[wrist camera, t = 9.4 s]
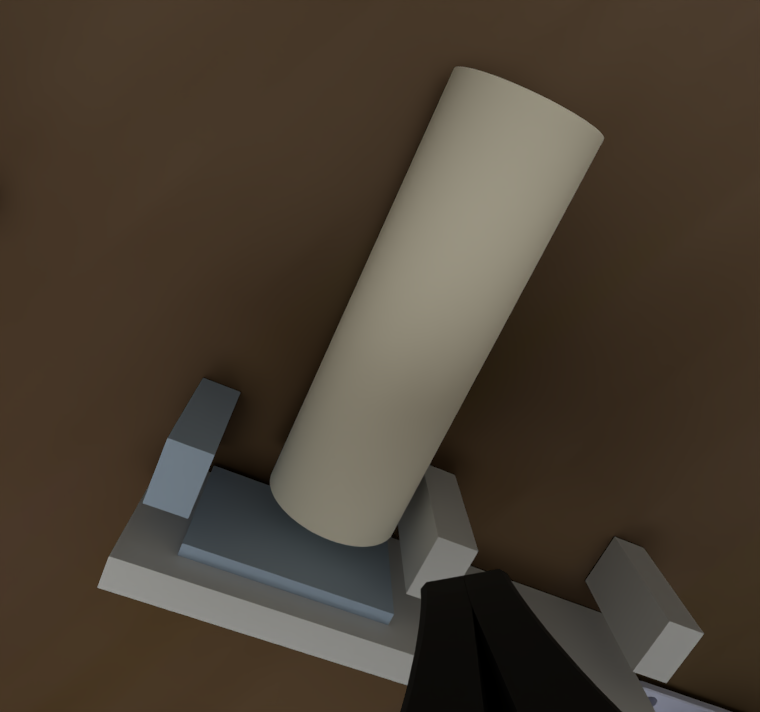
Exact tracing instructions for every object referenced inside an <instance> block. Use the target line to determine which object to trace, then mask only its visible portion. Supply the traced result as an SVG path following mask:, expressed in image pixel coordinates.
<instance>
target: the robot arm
mask: <svg viewBox="0 0 760 712" xmlns="http://www.w3.org/2000/svg"><path fill="white" fill-rule="evenodd" d="M420 590H421V608H420V620H419V628H418V634H417V641H416V647H415V652H414V657H413V662H412V666H411V671H410V676H409V680H408V685H407V689H406V693H405V697H404V701H403V704H402V708H401V711H400V712H622V711H621V710H620V709H619V708H618V707H617V706H616V705H615V704H614V703H613V702H612V701H611V700H610V699H609V698H608V697H607V696H606V695H605V694H604V693H603V692H602V691H601V690H600V689H599V688H598V687H597V686H596V685H595V684H594V683H593V681H592V680H591V679H590V678H589V677H588V676H587V675H586V674H585V673H584V672H583V671H582V670H581V669H580V667H579V666H578V665H577V664H576V663H575V662H574V661H573V659H572V658H571V657H570V656H569V655H568V654H567V653H566V651H565V650H564V649H563V648H562V647H561V646H560V645H559V643H558V642H557V641H556V640H555V639H554V638H553V636H552V635H551V634H550V633H549V631H548V630H547V629H546V628H545V627H544V625H543V624H542V623H541V621H540V620H539V619H538V618H537V616H536V615H535V614H534V612H533V611H532V610H531V609H530V607H529V606H528V604H527V603H526V602H525V600H524V599H523V598H522V596H521V595H520V593H519V592H518V590H517V589H516V587H515V586H514V584H513V583H512V581H511V579H510V578H509V576H508V574H507V573H505V572H504V571H502V570H501V569H497V570H491V571H485V572H480V573H474V574H469V575H463V576H458V577H452V578H446V579H441V580H435V581H430V582H426V583H425V584H424V585H423V587H422V588H421V589H420ZM640 683H641V685H642V687H643V689H644V691H645V693H646V695H647V697H648V698H649V700H650V702H651V704H652V706H653V708H654V710H655V712H731V711H728V710H725V709H723V708H720V707H717V706H714V705H711V704H708V703H705V702H702V701H699V700H696V699H693V698H690V697H687V696H684V695H682V694H679V693H676V692H673V691H670V690H667V689H664V688H661V687H658V686H655V685H652V684H649V683H646V682H644V681H640Z"/></svg>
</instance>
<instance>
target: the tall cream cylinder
mask: <svg viewBox="0 0 760 712" xmlns="http://www.w3.org/2000/svg"><path fill="white" fill-rule="evenodd" d="M603 140H604V136H603V135H602V133H601V132H600V131H599V130H598V129H596V128H595V127H594V126H593V125H591V124H590V123H588V122H587V121H586V120H584V119H582V118H581V117H579V116H578V115H576V114H574V113H573V112H571V111H569V110H568V109H566V108H564V107H562V106H560V105H559V104H557V103H555V102H553V101H551V100H549V99H547V98H545V97H543V96H541V95H539V94H537V93H535V92H533V91H531V90H528V89H526V88H524V87H522V86H519V85H517V84H515V83H512V82H510V81H507V80H505V79H502V78H500V77H497V76H495V75H492V74H489V73H486V72H483V71H479V70H476V69H472V68H467V67H460V66H459V67H454V69H453V71H452V74H451V76H450V78H449V80H448V82H447V85H446V87H445V89H444V91H443V94H442V96H441V98H440V100H439V102H438V105H437V107H436V109H435V111H434V114H433V116H432V118H431V120H430V122H429V125H428V127H427V129H426V131H425V133H424V136H423V138H422V140H421V142H420V145H419V147H418V149H417V151H416V153H415V156H414V158H413V160H412V162H411V165H410V167H409V169H408V171H407V173H406V176H405V178H404V180H403V182H402V185H401V187H400V189H399V191H398V193H397V196H396V198H395V200H394V202H393V205H392V207H391V209H390V211H389V213H388V216H387V218H386V220H385V222H384V225H383V227H382V229H381V231H380V233H379V236H378V238H377V240H376V242H375V245H374V247H373V249H372V251H371V253H370V256H369V258H368V260H367V262H366V265H365V267H364V269H363V271H362V273H361V276H360V278H359V280H358V282H357V285H356V287H355V289H354V291H353V293H352V296H351V298H350V300H349V302H348V305H347V307H346V309H345V311H344V313H343V316H342V318H341V320H340V322H339V324H338V327H337V329H336V331H335V333H334V336H333V338H332V340H331V342H330V344H329V347H328V349H327V351H326V353H325V356H324V358H323V360H322V362H321V364H320V367H319V369H318V371H317V373H316V376H315V378H314V380H313V382H312V384H311V387H310V389H309V391H308V393H307V396H306V398H305V400H304V402H303V404H302V407H301V409H300V411H299V413H298V416H297V418H296V420H295V422H294V424H293V427H292V429H291V431H290V433H289V436H288V438H287V440H286V442H285V444H284V447H283V449H282V451H281V453H280V456H279V458H278V460H277V462H276V464H275V467H274V469H273V471H272V473H271V476H270V487H271V491H272V493H273V496H274V498H275V499H276V501H277V502H278V504H279V505H280V506H281V508H282V509H283V510H284V511H285V512H286V513H287V514H288V515H289V516H290V517H291V518H292V519H294V520H295V521H296V522H297V523H299V524H300V525H302V526H303V527H305V528H306V529H308V530H309V531H311V532H313V533H315V534H317V535H319V536H321V537H323V538H326V539H328V540H331V541H334V542H337V543H340V544H344V545H349V546H357V547H369V546H375V545H379V544H381V543H383V542H385V541H387V540H388V539H389V538H390V537H391V535H392V534H393V532H394V530H395V528H396V526H397V524H398V523H399V521H400V519H401V517H402V515H403V513H404V511H405V510H406V508H407V506H408V504H409V502H410V500H411V498H412V496H413V495H414V493H415V491H416V489H417V487H418V485H419V483H420V482H421V480H422V478H423V476H424V474H425V472H426V470H427V468H428V467H429V465H430V463H431V461H432V459H433V457H434V455H435V454H436V452H437V450H438V448H439V446H440V444H441V442H442V440H443V439H444V437H445V435H446V433H447V431H448V429H449V427H450V426H451V424H452V422H453V420H454V418H455V416H456V414H457V412H458V411H459V409H460V407H461V405H462V403H463V401H464V399H465V398H466V396H467V394H468V392H469V390H470V388H471V386H472V384H473V383H474V381H475V379H476V377H477V375H478V373H479V371H480V370H481V368H482V366H483V364H484V362H485V360H486V358H487V356H488V355H489V353H490V351H491V349H492V347H493V345H494V343H495V342H496V340H497V338H498V336H499V334H500V332H501V330H502V328H503V327H504V325H505V323H506V321H507V319H508V317H509V315H510V314H511V312H512V310H513V308H514V306H515V304H516V302H517V301H518V299H519V297H520V295H521V293H522V291H523V289H524V287H525V286H526V284H527V282H528V280H529V278H530V276H531V274H532V273H533V271H534V269H535V267H536V265H537V263H538V261H539V259H540V258H541V256H542V254H543V252H544V250H545V248H546V246H547V245H548V243H549V241H550V239H551V237H552V235H553V233H554V231H555V230H556V228H557V226H558V224H559V222H560V220H561V218H562V217H563V215H564V213H565V211H566V209H567V207H568V205H569V203H570V202H571V200H572V198H573V196H574V194H575V192H576V190H577V189H578V187H579V185H580V183H581V181H582V179H583V177H584V175H585V174H586V172H587V170H588V168H589V166H590V164H591V162H592V161H593V159H594V157H595V155H596V153H597V151H598V149H599V147H600V146H601V144H602V142H603Z"/></svg>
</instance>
